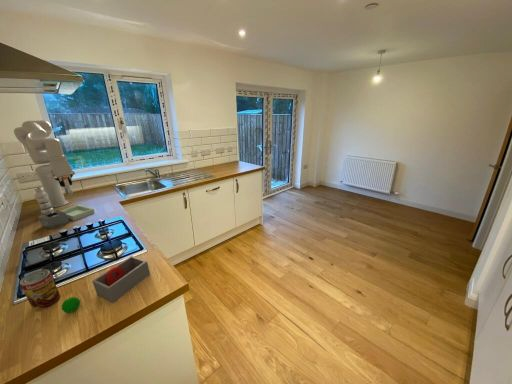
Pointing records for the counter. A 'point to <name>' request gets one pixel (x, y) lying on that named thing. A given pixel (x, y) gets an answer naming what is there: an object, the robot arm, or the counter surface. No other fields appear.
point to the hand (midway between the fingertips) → (66, 185)
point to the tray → (78, 212)
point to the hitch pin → (67, 185)
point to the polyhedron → (70, 304)
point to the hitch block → (53, 219)
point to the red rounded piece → (109, 274)
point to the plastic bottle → (43, 201)
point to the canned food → (40, 289)
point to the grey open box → (122, 279)
